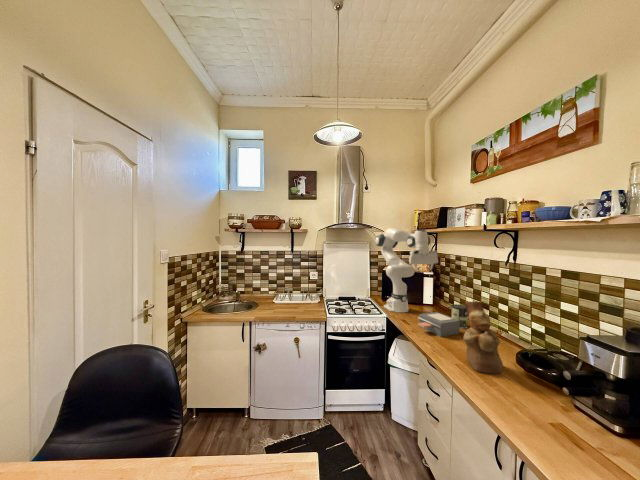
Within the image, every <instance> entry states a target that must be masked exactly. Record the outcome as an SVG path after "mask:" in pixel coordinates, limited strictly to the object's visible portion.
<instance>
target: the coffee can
mask: <svg viewBox="0 0 640 480" xmlns="http://www.w3.org/2000/svg"><path fill="white" fill-rule="evenodd" d="M450 317H451V318H454V319H456V320H459V321H460V329H461V330H463V329H469V328H468V327H469V326H468V322H469V318H468V314H467V310H466V306H465V304H463V305H462V304H457V303H456V304H452V305H451V316H450Z"/></svg>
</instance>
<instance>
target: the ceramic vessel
mask: <svg viewBox="0 0 640 480" xmlns="http://www.w3.org/2000/svg"><path fill="white" fill-rule="evenodd" d="M464 306H466V310H467V314H468V322H469V325H470V327H469V328H466V330H465V332H464V334H463V341H464V343H465V347H466V352H465V353H466V360H467V362H468V364H469V366H470V367H471V368H472V369H473V370H475V371H476V372H479V373H485V374H501V373H502V372H503V369H504V364H503V361H502V359H501V356H500V354H499V351H498V347H499V345H500V343H501V341H500V338H499V337H498V335H497V333H495V332H494V331H493V330H492V329H490V328H491V326H492V324H491V319H490V316H489V315H488V314H487V312H486V311H485V310H484V306H483V302H482V301H465V302H464Z"/></svg>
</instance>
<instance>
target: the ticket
mask: <svg viewBox="0 0 640 480" xmlns="http://www.w3.org/2000/svg"><path fill="white" fill-rule="evenodd" d="M417 326H418V327H419V326H421V327H423V328H428V327H433V325H432V324H430V323H427V322H424V323H419V322H418V323H417ZM421 327H420V328H421ZM423 328H422V329H423Z"/></svg>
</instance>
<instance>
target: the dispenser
mask: <svg viewBox="0 0 640 480" xmlns="http://www.w3.org/2000/svg"><path fill="white" fill-rule="evenodd" d="M451 317H452V316H448V315H447V314H443V313H440V312H439V311H435V312H428V313H420V314H418V317H417V319H418V323H424V322H427V323H430V324H432V325H433V327H428V328H423V327H421V326H419V325H418V327H420V328H422V329H423V330H425V331H428V332H430V333H432V334H433V335H436V336H438V337H440V338H442V337H448V336H453V335H454V334H455V335H460V333H461V332H460V331H461V330H460V329H461V328H460V321H459V320H456V319H454V318H451Z"/></svg>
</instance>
